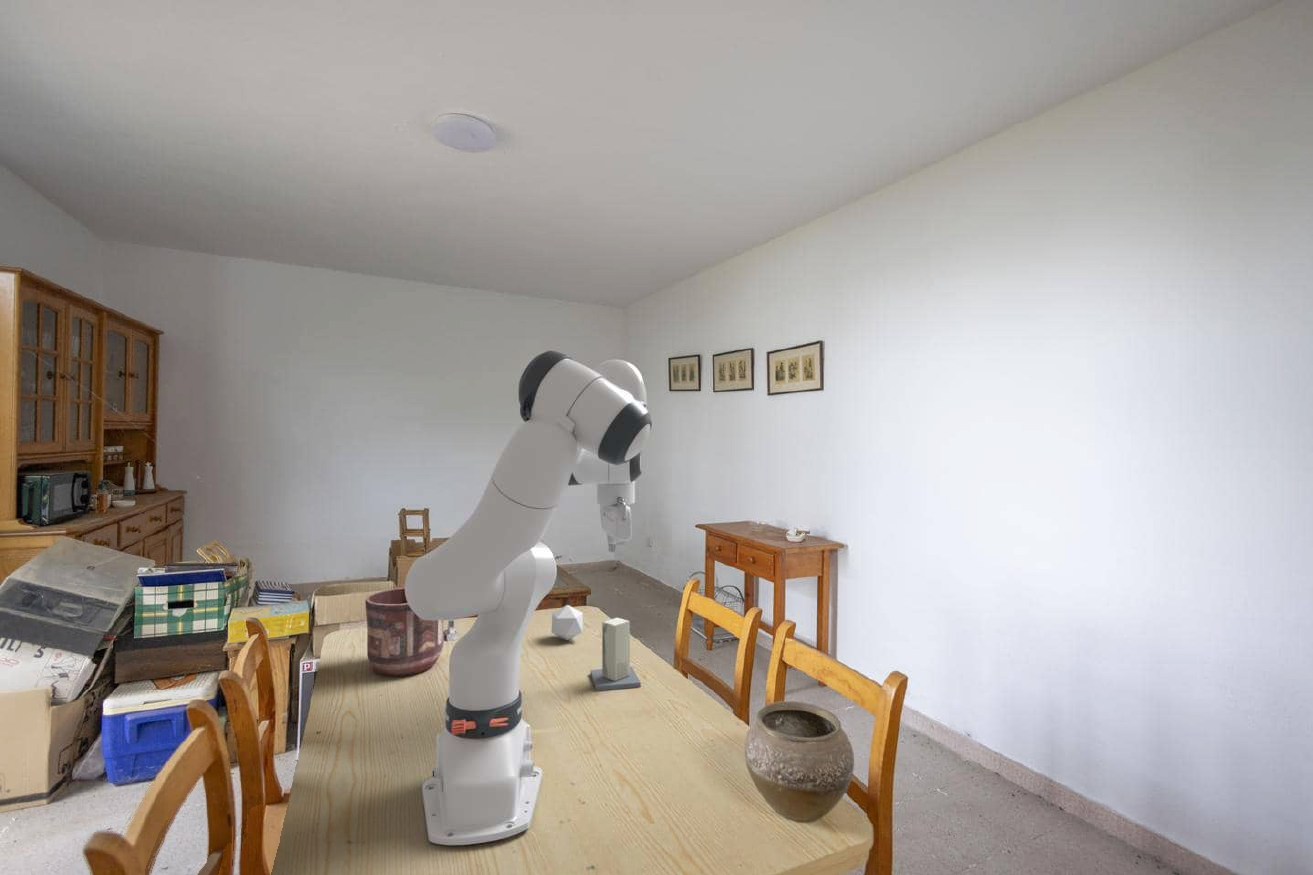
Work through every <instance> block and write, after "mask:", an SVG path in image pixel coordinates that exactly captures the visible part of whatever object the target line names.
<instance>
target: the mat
mask: <svg viewBox="0 0 1313 875" xmlns="http://www.w3.org/2000/svg"><path fill="white" fill-rule="evenodd" d="M590 676H591V679H592V683H593V685H594V688H595V690H596V692H599V691H600V692H601V691H610V690H611V691H612V690H622V689H623V690H624V689H634V688H641V681H640V680H641V679H639V677H638V675H637V673H636V672H635V670H634V668H633V667H632V666H630V675H628V676H626V677H624V678H621V679H619V680H617V681H613V680H610V679H608V678H605V677H603V676H602V668H599V669H590Z"/></svg>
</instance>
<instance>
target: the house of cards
mask: <svg viewBox="0 0 1313 875" xmlns="http://www.w3.org/2000/svg"><path fill="white" fill-rule="evenodd" d="M447 622H448V624H447V629H443V639H445V638H446V640H447V642H451V641H459V639H458V636H459V635H458V633H457V629H456V628H455V620H447Z"/></svg>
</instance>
